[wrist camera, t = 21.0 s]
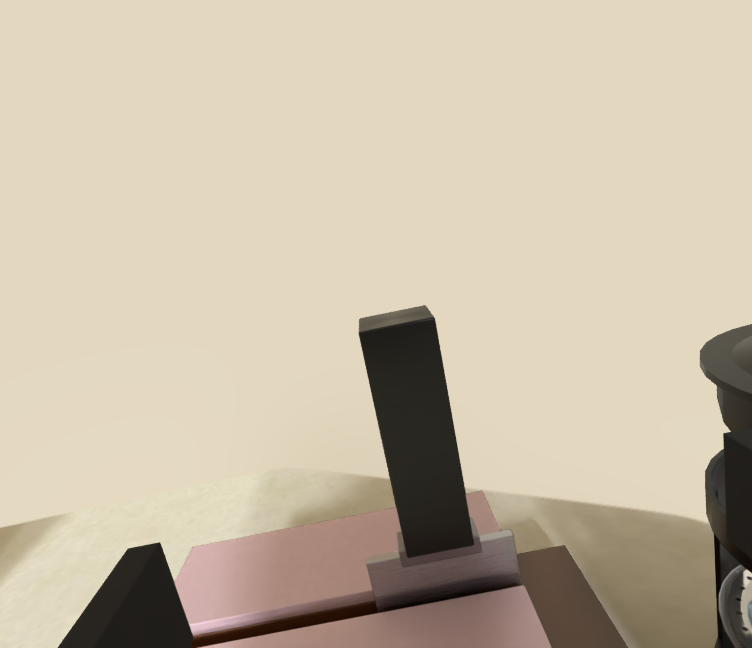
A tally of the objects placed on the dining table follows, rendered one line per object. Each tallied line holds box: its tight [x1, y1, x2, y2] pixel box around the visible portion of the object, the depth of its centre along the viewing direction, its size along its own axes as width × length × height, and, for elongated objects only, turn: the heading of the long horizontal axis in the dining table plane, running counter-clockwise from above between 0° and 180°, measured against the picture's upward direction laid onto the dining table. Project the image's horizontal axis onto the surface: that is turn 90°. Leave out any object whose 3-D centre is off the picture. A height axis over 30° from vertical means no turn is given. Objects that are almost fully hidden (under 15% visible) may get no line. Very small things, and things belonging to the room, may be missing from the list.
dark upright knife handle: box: [359, 305, 521, 613], centre depth 19 cm, size 6×2×19 cm, turn 92°
